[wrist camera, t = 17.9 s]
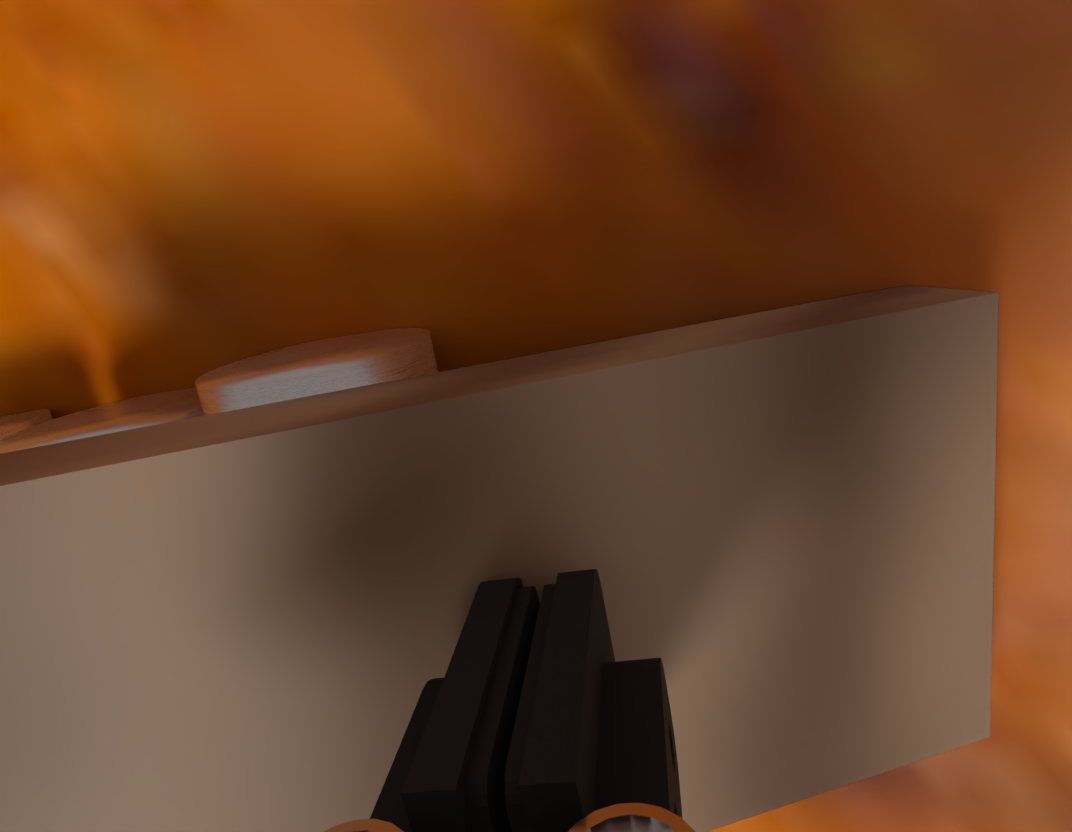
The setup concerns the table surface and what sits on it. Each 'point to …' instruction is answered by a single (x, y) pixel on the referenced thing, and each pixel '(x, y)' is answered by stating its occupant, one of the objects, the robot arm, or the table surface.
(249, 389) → the roller
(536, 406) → the slab
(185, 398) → the roller
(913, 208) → the table surface
